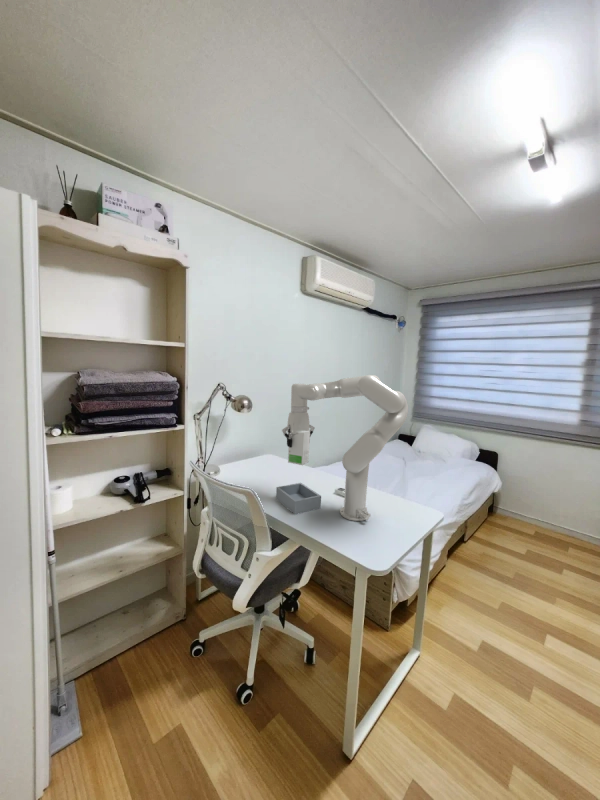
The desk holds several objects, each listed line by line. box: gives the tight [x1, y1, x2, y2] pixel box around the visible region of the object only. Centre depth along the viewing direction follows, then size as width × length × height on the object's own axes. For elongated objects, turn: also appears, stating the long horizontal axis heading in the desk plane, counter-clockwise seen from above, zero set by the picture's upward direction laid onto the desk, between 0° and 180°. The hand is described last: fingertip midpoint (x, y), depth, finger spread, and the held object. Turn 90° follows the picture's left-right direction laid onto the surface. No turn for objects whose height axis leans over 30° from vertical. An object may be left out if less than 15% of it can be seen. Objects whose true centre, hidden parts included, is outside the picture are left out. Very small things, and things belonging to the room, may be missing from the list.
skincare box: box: [287, 430, 311, 466], centre depth 146 cm, size 8×7×16 cm
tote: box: [275, 482, 322, 515], centre depth 146 cm, size 18×14×6 cm
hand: (298, 445), depth 146 cm, fingers closed on skincare box, 9 cm apart
